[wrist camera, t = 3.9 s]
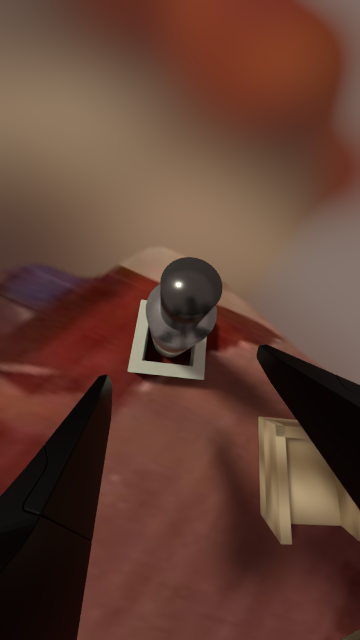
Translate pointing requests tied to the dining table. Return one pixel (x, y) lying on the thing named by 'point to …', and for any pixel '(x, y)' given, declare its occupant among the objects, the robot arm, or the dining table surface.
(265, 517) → the beige square tray
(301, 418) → the robot arm
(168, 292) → the silver and grey cylinder
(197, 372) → the socket block
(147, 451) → the dining table surface
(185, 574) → the dining table surface
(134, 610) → the dining table surface
